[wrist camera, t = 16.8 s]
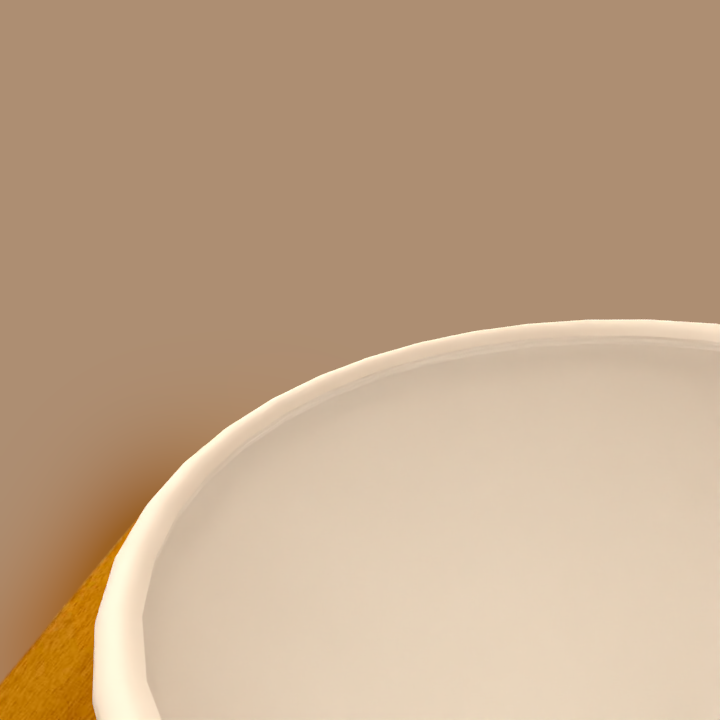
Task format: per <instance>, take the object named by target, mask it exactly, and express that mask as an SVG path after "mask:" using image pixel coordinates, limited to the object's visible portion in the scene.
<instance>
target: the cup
mask: <svg viewBox="0 0 720 720" xmlns="http://www.w3.org/2000/svg"><path fill="white" fill-rule="evenodd" d="M92 703H93V707H94V711H95V715H96V718H97V720H720V324H712V323H696V322H679V321H662V320H579V321H563V322H549V323H535V324H524V325H517V326H510V327H503V328H495V329H488V330H480V331H473V332H468V333H463V334H459V335H454V336H449V337H444V338H439V339H434V340H430V341H425V342H420V343H417V344H413V345H410V346H406V347H403V348H399V349H396V350H392V351H389V352H385V353H382V354H378V355H375V356H371V357H368V358H365V359H363V360H360V361H357V362H355V363H352V364H349V365H347V366H344V367H342V368H339V369H336V370H334V371H331V372H328V373H326V374H323V375H320V376H318V377H316V378H314V379H312V380H310V381H308V382H306V383H304V384H302V385H300V386H298V387H296V388H294V389H292V390H289V391H287V392H285V393H283V394H281V395H279V396H277V397H276V398H273V399H271V400H270V401H268V402H267V403H265V404H263V405H262V406H261V407H259V408H257V409H256V410H254V411H252V412H251V413H249V414H248V415H246V416H244V417H243V418H241V419H240V420H238V421H236V422H235V423H234V424H232V425H230V426H228V427H227V428H226V429H225V430H223V431H222V432H221V433H220V434H218V435H217V436H216V437H215V438H214V439H212V440H211V441H210V442H209V443H208V444H206V445H205V446H204V447H203V448H201V449H200V450H199V451H198V452H197V453H196V454H194V455H193V456H192V457H191V458H189V459H188V460H187V461H186V462H184V463H183V464H182V466H181V467H180V468H179V469H178V470H177V471H176V472H175V473H174V475H173V476H172V477H171V478H170V479H169V480H168V482H167V483H166V484H165V485H164V486H163V487H162V488H161V489H160V491H159V492H158V493H157V494H156V495H155V496H154V497H153V498H152V499H151V501H150V502H149V503H148V504H147V505H146V507H145V508H144V510H143V512H142V513H141V515H140V517H139V518H138V520H137V522H136V524H135V525H134V527H133V529H132V530H131V532H130V534H129V535H128V537H127V539H126V540H125V542H124V544H123V546H122V547H121V549H120V551H119V552H118V554H117V556H116V557H115V560H114V563H113V566H112V569H111V573H110V576H109V579H108V582H107V585H106V589H105V592H104V595H103V598H102V602H101V605H100V608H99V611H98V614H97V618H96V621H95V631H94V666H93V702H92Z"/></svg>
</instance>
